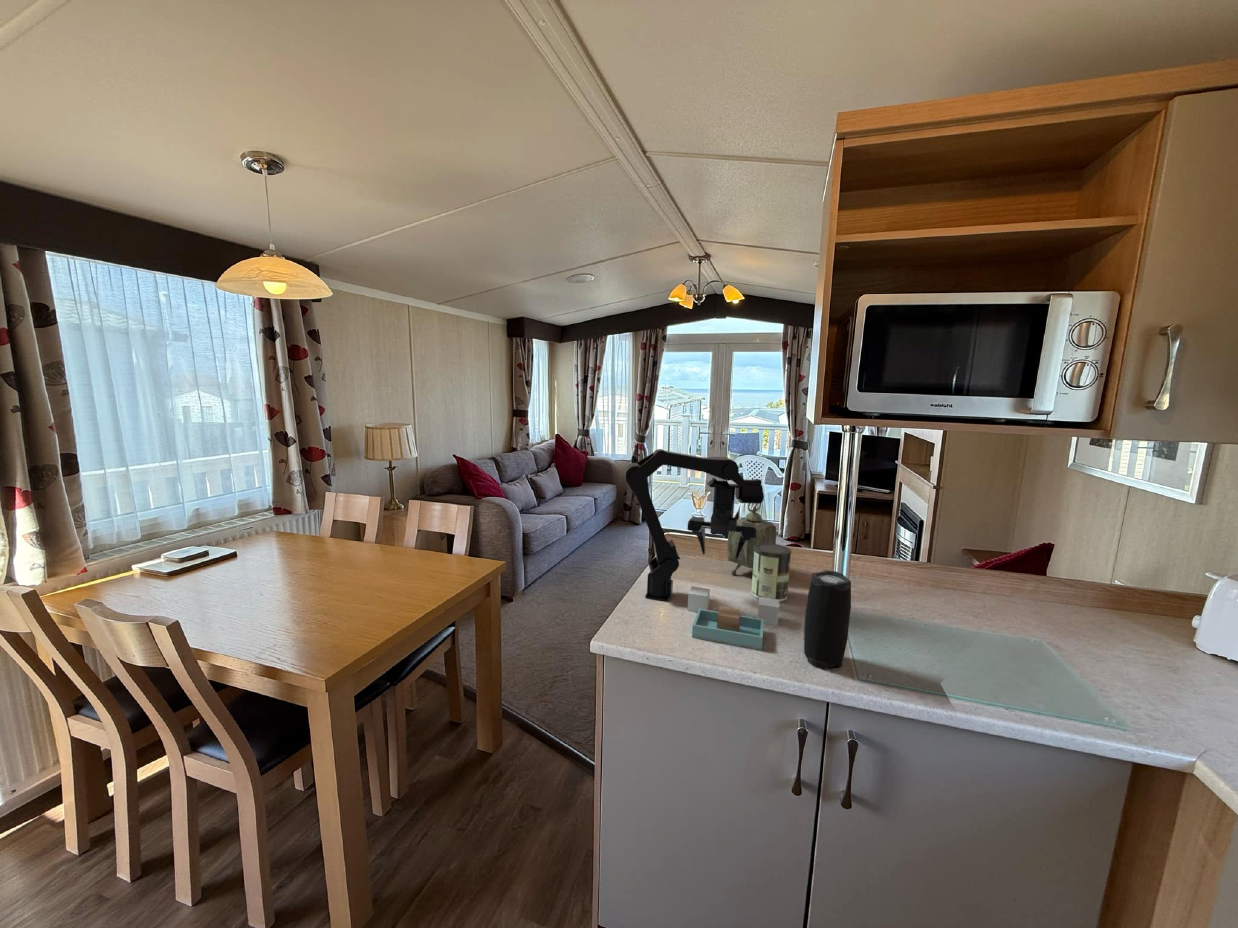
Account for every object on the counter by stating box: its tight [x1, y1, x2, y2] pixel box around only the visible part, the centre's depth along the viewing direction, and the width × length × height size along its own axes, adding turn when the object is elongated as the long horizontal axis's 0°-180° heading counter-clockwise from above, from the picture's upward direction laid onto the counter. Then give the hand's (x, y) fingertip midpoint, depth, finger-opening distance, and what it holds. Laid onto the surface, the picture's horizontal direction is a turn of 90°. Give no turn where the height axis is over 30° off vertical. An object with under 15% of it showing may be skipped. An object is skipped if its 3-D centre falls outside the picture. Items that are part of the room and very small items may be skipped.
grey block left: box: [687, 586, 711, 613], centre depth 130 cm, size 5×5×5 cm
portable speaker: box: [803, 569, 852, 670], centre depth 105 cm, size 9×9×20 cm
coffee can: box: [750, 543, 792, 603], centre depth 140 cm, size 10×10×14 cm
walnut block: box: [717, 605, 742, 632], centre depth 117 cm, size 5×5×5 cm
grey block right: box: [757, 597, 780, 627], centre depth 125 cm, size 5×5×5 cm
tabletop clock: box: [726, 503, 777, 576], centre depth 155 cm, size 14×9×25 cm, turn 130°
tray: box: [691, 609, 764, 651], centre depth 117 cm, size 16×10×3 cm, turn 72°
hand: (720, 556), depth 137 cm, fingers open, 9 cm apart
